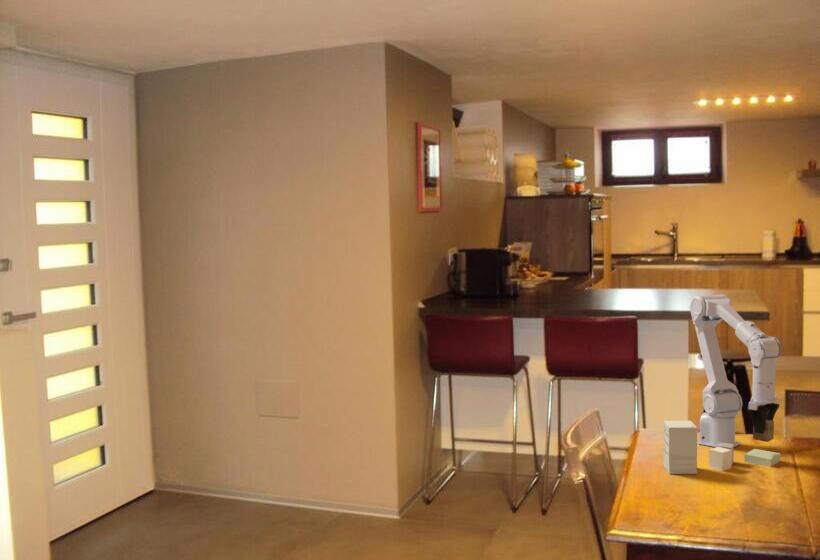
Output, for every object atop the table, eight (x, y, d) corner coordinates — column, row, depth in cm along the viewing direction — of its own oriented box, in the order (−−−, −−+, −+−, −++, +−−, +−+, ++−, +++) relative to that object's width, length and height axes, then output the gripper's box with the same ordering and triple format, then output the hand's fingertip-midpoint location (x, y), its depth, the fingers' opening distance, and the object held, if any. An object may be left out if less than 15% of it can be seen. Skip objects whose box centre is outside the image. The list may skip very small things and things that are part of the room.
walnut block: (752, 439, 234) (753, 421, 234) (758, 436, 237) (759, 418, 237) (767, 442, 232) (768, 423, 231) (773, 438, 235) (774, 420, 234)
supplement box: (690, 466, 232) (691, 420, 231) (697, 474, 224) (698, 427, 223) (662, 465, 233) (663, 419, 231) (668, 474, 225) (668, 427, 224)
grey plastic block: (715, 464, 234) (716, 445, 233) (718, 460, 237) (718, 442, 237) (731, 466, 232) (731, 447, 231) (733, 462, 235) (733, 444, 235)
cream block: (709, 467, 231) (709, 449, 230) (718, 464, 233) (718, 446, 232) (722, 471, 227) (722, 452, 227) (731, 468, 230) (731, 450, 229)
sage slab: (744, 463, 235) (744, 454, 235) (754, 457, 240) (754, 448, 240) (770, 468, 230) (770, 459, 230) (780, 462, 235) (780, 453, 235)
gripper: (767, 388, 225) (766, 439, 226) (789, 379, 236) (787, 428, 237) (741, 384, 230) (740, 434, 231) (763, 376, 241) (762, 424, 242)
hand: (762, 431), depth 234 cm, fingers closed on walnut block, 4 cm apart
